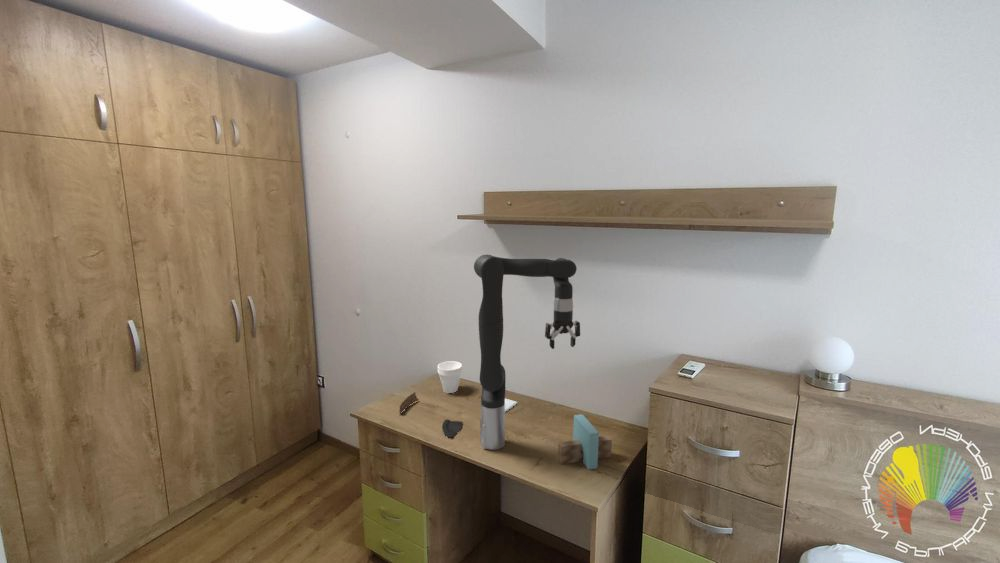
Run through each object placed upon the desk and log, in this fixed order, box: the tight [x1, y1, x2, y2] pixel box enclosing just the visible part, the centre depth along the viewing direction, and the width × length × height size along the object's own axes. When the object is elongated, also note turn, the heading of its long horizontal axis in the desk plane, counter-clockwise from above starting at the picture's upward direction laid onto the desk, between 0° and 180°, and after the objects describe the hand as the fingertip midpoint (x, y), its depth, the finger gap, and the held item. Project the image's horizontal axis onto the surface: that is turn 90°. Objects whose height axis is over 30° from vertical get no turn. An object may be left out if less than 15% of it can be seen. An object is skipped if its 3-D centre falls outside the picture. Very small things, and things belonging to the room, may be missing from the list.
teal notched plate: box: [572, 413, 600, 470], centre depth 165 cm, size 14×4×14 cm, turn 14°
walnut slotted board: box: [557, 435, 613, 465], centre depth 165 cm, size 20×3×7 cm, turn 104°
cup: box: [437, 360, 463, 394], centre depth 223 cm, size 12×12×14 cm
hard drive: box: [505, 397, 518, 412], centre depth 207 cm, size 2×8×12 cm
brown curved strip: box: [399, 391, 420, 415], centre depth 206 cm, size 15×2×5 cm, turn 162°
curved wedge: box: [441, 419, 463, 439], centre depth 187 cm, size 8×14×2 cm, turn 174°
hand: (562, 347), depth 180 cm, fingers open, 8 cm apart
